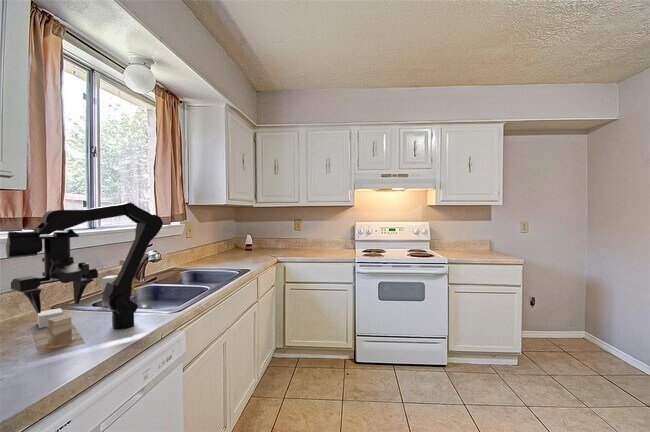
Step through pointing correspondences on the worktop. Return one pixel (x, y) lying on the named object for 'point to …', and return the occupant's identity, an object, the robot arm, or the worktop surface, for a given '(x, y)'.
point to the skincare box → (104, 282)
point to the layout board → (44, 347)
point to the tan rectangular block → (59, 330)
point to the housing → (48, 316)
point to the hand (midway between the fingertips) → (58, 308)
